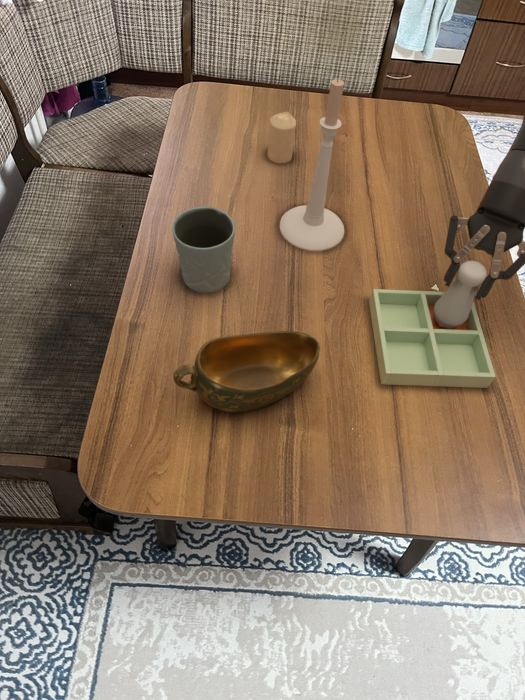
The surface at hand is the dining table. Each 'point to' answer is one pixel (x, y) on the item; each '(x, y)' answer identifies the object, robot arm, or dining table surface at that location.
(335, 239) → the candlestick
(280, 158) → the candle
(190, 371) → the creamer
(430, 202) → the dining table surface
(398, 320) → the grid
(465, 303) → the salt shaker
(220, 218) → the grey green cup
